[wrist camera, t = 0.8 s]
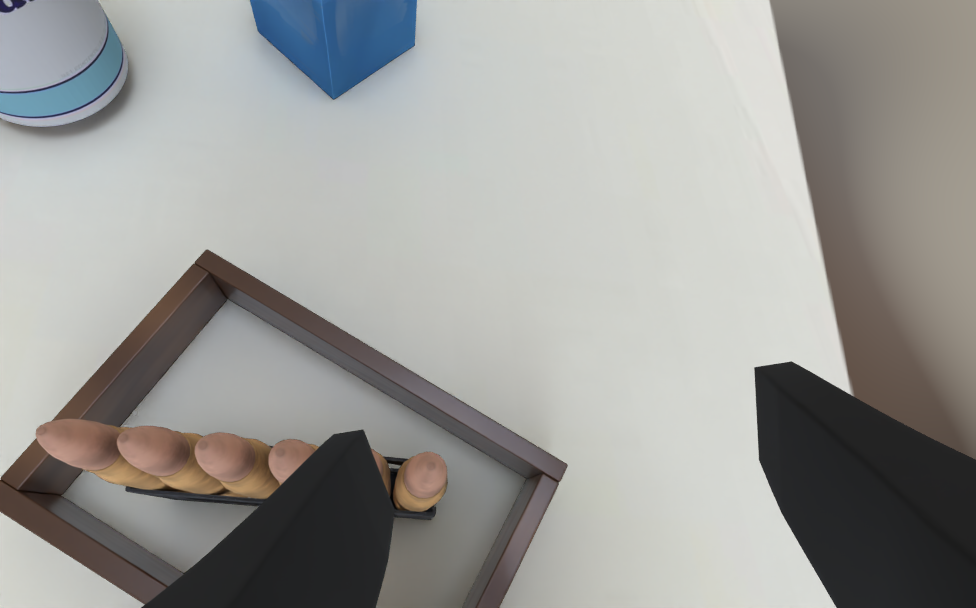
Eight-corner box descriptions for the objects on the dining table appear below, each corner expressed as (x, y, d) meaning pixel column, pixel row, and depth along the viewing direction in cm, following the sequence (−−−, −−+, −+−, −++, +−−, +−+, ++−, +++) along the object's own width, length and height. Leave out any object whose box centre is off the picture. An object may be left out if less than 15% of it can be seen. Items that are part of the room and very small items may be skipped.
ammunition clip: (169, 499, 24) (-23, 469, 13) (182, 452, 24) (10, 385, 13) (432, 520, 25) (466, 509, 14) (437, 475, 26) (473, 431, 15)
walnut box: (413, 748, 22) (417, 779, 19) (29, 503, 23) (-21, 499, 20) (549, 471, 26) (568, 464, 24) (224, 276, 27) (206, 248, 25)
